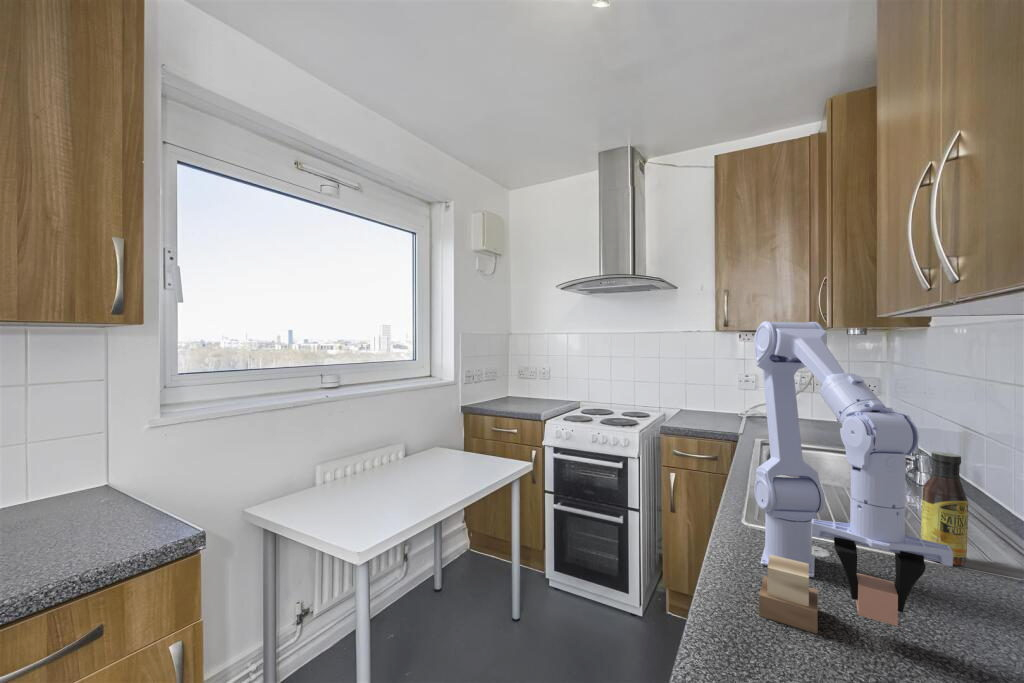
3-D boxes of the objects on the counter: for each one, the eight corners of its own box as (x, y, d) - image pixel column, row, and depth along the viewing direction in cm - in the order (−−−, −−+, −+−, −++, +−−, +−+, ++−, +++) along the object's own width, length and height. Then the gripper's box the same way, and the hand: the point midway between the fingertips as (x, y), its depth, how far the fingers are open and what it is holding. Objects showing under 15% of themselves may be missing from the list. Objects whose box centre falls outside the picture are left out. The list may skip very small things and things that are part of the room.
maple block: (769, 580, 68) (769, 554, 69) (808, 590, 66) (808, 563, 66) (767, 595, 64) (767, 567, 64) (808, 606, 62) (808, 577, 62)
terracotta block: (856, 601, 62) (856, 572, 62) (893, 611, 60) (893, 581, 60) (858, 615, 59) (858, 585, 59) (897, 626, 57) (897, 595, 57)
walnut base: (763, 594, 70) (764, 575, 70) (817, 609, 66) (817, 589, 66) (759, 615, 64) (759, 594, 64) (817, 634, 60) (817, 611, 60)
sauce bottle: (944, 567, 80) (944, 457, 80) (911, 551, 86) (911, 449, 87) (978, 567, 80) (978, 457, 81) (943, 551, 87) (943, 450, 87)
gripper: (811, 497, 61) (810, 597, 60) (959, 523, 52) (958, 638, 52) (812, 484, 66) (811, 575, 66) (945, 506, 58) (944, 610, 58)
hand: (875, 602), depth 60 cm, fingers closed on terracotta block, 4 cm apart
